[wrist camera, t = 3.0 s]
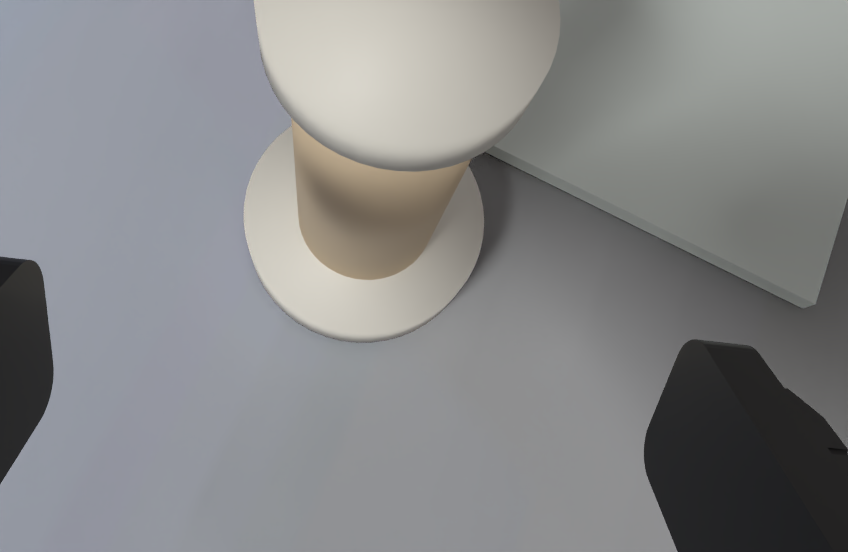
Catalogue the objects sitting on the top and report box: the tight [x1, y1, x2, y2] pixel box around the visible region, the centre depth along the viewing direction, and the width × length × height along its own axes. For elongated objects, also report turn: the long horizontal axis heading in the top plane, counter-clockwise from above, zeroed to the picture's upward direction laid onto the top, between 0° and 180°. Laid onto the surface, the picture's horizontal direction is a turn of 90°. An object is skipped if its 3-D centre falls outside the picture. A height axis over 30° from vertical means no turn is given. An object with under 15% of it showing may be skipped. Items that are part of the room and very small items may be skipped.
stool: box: [244, 0, 561, 343], centre depth 16 cm, size 6×6×11 cm
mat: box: [485, 0, 848, 308], centre depth 24 cm, size 12×12×1 cm
